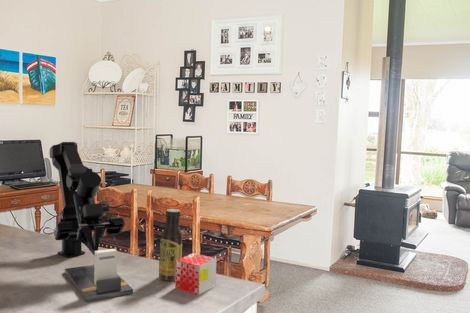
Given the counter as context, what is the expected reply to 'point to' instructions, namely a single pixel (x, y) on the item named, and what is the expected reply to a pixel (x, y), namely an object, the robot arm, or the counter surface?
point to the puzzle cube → (195, 273)
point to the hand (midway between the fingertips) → (95, 254)
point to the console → (102, 289)
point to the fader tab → (105, 264)
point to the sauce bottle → (170, 246)
